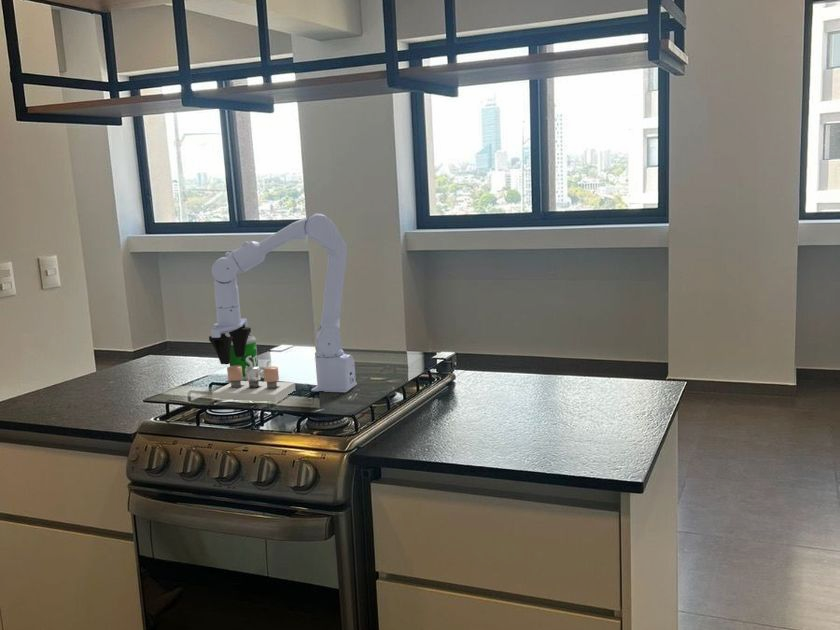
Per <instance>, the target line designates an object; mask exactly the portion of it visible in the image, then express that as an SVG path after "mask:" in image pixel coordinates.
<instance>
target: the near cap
mask: <svg viewBox="0 0 840 630" xmlns="http://www.w3.org/2000/svg"><path fill="white" fill-rule="evenodd" d="M262 371H263V382H267V389H276V388H277V382H279V380H280V375H279V367H278V366H275V365H274V366H265V367H263V368H262Z"/></svg>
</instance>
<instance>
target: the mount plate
mask: <svg viewBox="0 0 840 630" xmlns="http://www.w3.org/2000/svg"><path fill="white" fill-rule="evenodd" d="M258 381H259V387H258V388H254V389H250V388H249V381H241V387H239V388H231V382H229V383H228V384H226V385H224V386H222V387H220V388H217V389H216V390H214V391H212V399H213V398H220V399H233V400H251V401H252V400H253V401H272V402H276V401H278V400H279V399H281V398H283V397H285V396H287V395H288V394H290V393H292V392H293V391H296V382H292V381H291V382H290V381H277V388H276V389H267V382H265V381H260V380H258Z"/></svg>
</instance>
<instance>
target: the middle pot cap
mask: <svg viewBox="0 0 840 630" xmlns="http://www.w3.org/2000/svg"><path fill="white" fill-rule="evenodd" d="M245 375H246V381H249V388H250V389H254V388H258V387H259V381H260V380H261V379H262V378H261V377H262V376H261V367H260V366H259V365H258V366H250V367H246V368H245Z"/></svg>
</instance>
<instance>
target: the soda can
mask: <svg viewBox="0 0 840 630" xmlns="http://www.w3.org/2000/svg"><path fill="white" fill-rule="evenodd" d="M257 350H258V349H257V338H256V337H255V336H253V334H251V333H250V334H249V336H248V339H247V343H246V349H245V355H244V357H236V356H235V352H234V347H233V342H231V347H230V363H229V367H230V366H242V375H243V379H241V381H244V380H246V375H245V368H246V367H250V366H259V360H258V351H257Z"/></svg>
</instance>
